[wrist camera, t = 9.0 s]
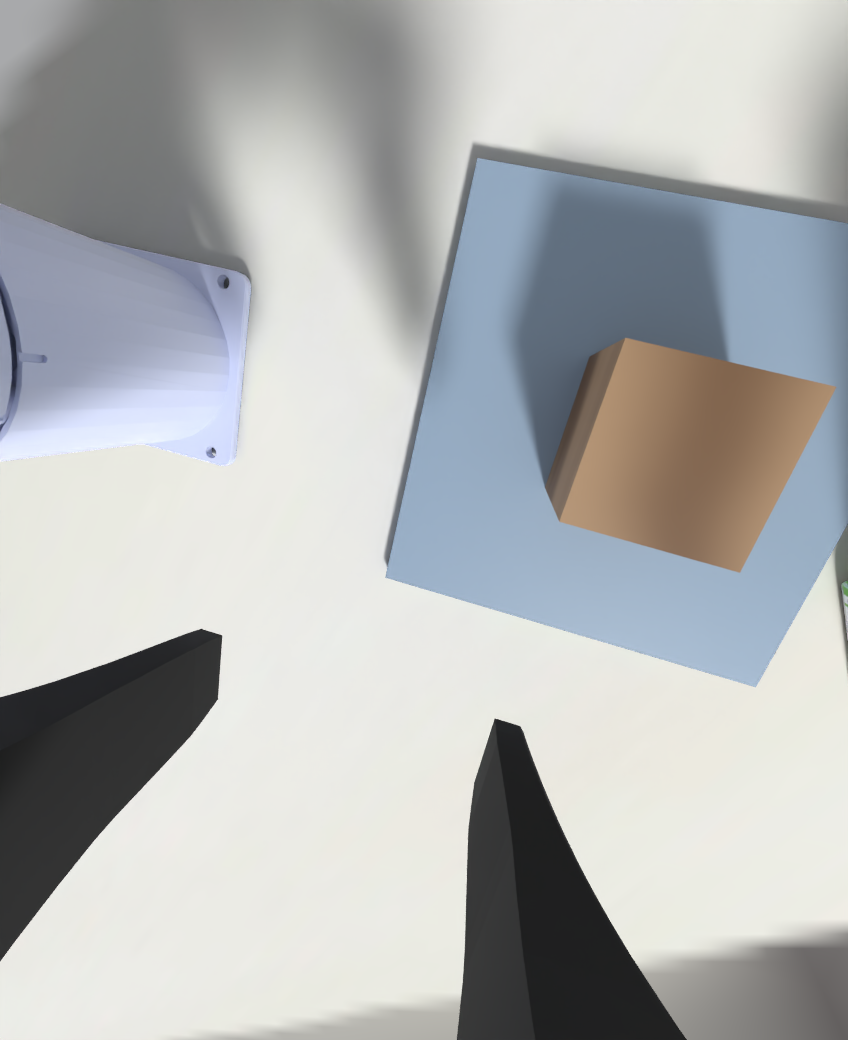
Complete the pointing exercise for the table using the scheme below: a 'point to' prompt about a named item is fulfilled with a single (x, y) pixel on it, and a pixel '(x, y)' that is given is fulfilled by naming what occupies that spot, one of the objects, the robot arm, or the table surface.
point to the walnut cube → (681, 450)
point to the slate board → (554, 385)
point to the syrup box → (845, 602)
